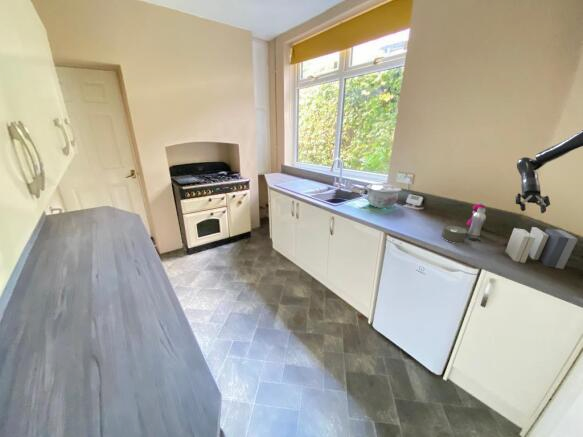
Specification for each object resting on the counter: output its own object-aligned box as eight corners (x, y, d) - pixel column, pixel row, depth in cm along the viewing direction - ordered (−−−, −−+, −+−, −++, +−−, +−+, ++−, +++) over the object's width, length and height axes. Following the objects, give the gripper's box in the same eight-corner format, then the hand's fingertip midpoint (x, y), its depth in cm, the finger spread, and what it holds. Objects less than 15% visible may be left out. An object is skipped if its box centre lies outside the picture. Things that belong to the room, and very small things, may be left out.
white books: (514, 253, 127) (524, 229, 122) (524, 262, 118) (535, 237, 113) (505, 251, 129) (513, 228, 124) (514, 261, 119) (524, 236, 114)
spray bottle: (474, 233, 150) (483, 204, 143) (462, 229, 156) (471, 201, 149) (480, 232, 153) (490, 203, 146) (469, 228, 159) (478, 199, 152)
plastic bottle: (464, 239, 142) (474, 208, 135) (466, 236, 147) (475, 205, 139) (477, 243, 138) (488, 211, 131) (479, 239, 142) (489, 208, 135)
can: (466, 239, 142) (469, 229, 140) (461, 245, 134) (464, 234, 132) (443, 233, 150) (446, 223, 148) (438, 238, 142) (440, 228, 140)
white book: (527, 250, 130) (536, 227, 125) (538, 260, 120) (549, 235, 115) (522, 250, 131) (531, 226, 126) (533, 259, 121) (543, 234, 116)
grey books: (549, 258, 122) (562, 230, 117) (563, 269, 113) (578, 239, 107) (534, 255, 124) (546, 228, 119) (546, 266, 115) (559, 236, 109)
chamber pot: (402, 206, 203) (407, 182, 195) (390, 214, 184) (394, 188, 176) (372, 199, 221) (375, 177, 213) (357, 206, 202) (360, 182, 194)
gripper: (519, 182, 137) (521, 206, 131) (551, 184, 132) (554, 210, 126) (511, 189, 143) (513, 212, 137) (541, 191, 138) (545, 216, 132)
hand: (533, 211), depth 132 cm, fingers open, 8 cm apart
